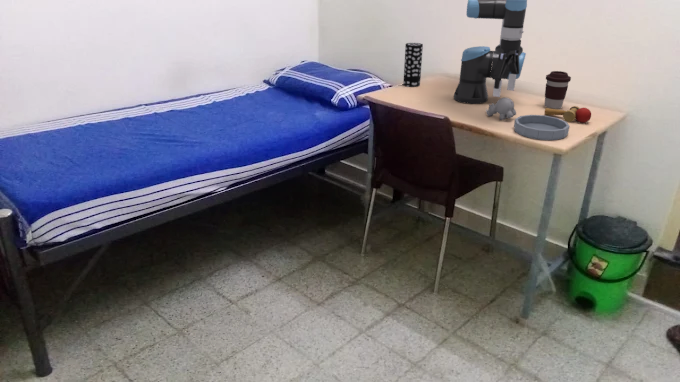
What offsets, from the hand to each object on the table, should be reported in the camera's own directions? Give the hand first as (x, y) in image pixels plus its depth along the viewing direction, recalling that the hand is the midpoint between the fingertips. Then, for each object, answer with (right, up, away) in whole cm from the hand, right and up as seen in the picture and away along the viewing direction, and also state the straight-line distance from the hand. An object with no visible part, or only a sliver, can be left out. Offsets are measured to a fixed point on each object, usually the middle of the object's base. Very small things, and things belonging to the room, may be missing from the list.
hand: (503, 93), depth 209 cm
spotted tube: (-30, +14, +53) cm, 62 cm away
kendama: (+27, -10, +4) cm, 29 cm away
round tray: (+11, -17, -10) cm, 22 cm away
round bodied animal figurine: (0, -9, +5) cm, 11 cm away
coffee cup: (+28, -3, +19) cm, 34 cm away
